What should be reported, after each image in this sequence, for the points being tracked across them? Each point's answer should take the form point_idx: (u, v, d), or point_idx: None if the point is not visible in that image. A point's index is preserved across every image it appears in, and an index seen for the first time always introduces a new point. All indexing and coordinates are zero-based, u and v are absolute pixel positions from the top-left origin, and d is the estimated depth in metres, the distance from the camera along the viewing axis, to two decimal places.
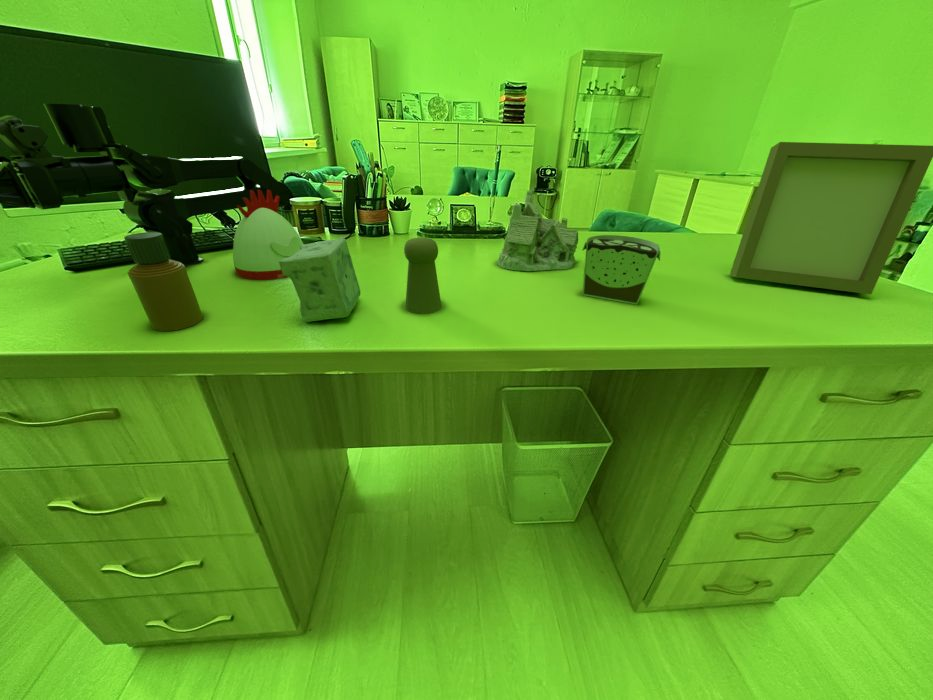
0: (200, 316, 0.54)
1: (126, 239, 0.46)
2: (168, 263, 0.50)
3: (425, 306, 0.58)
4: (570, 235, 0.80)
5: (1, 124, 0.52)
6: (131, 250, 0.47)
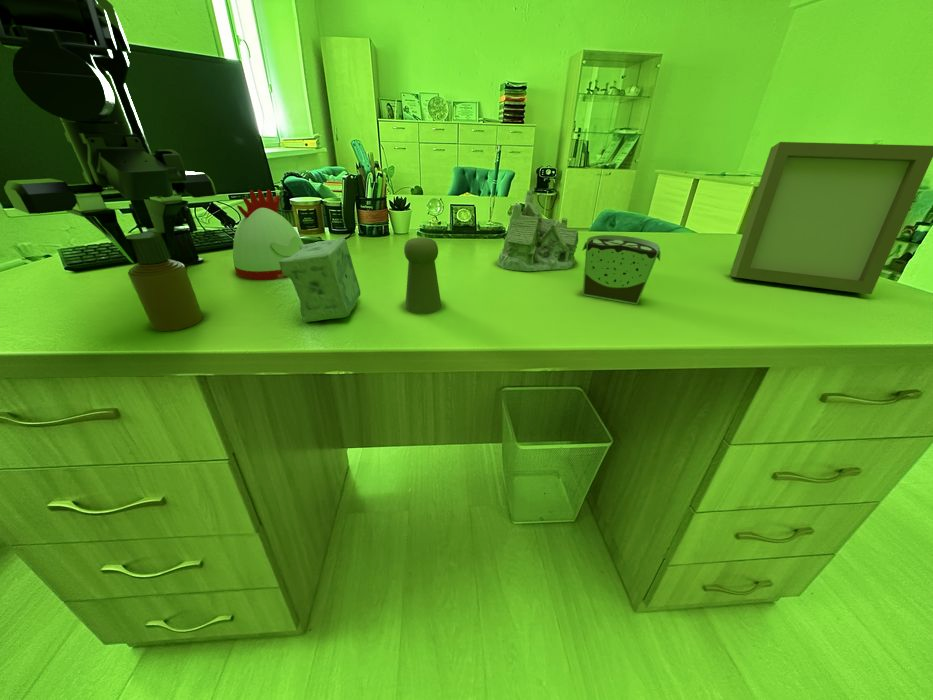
0: (200, 316, 0.54)
1: None
2: (168, 263, 0.50)
3: (425, 306, 0.58)
4: (570, 235, 0.80)
5: (171, 186, 0.43)
6: None
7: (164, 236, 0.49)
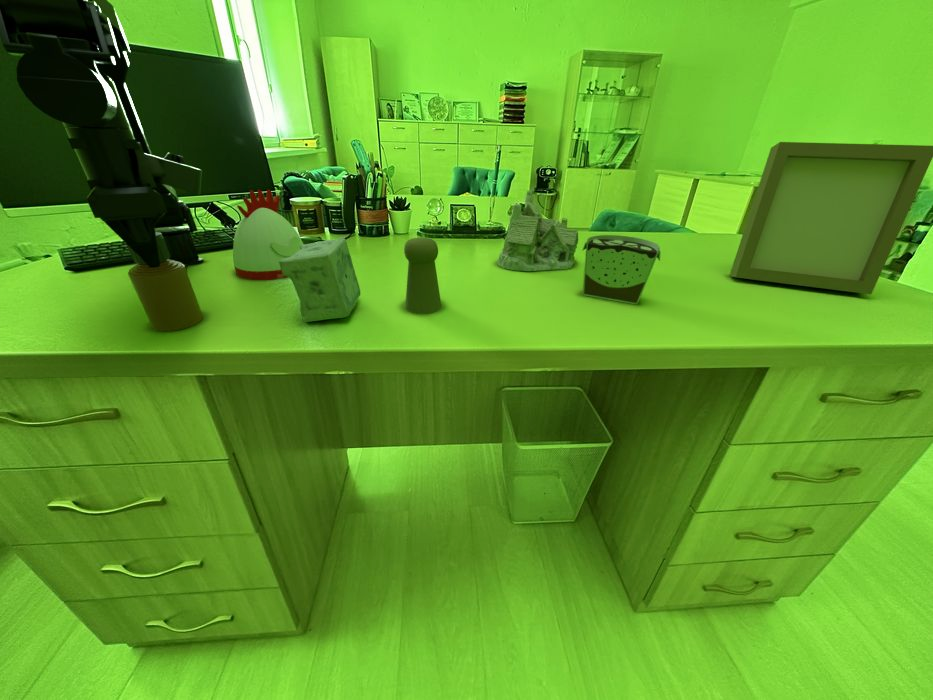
0: (200, 316, 0.54)
1: None
2: (168, 263, 0.50)
3: (425, 306, 0.58)
4: (570, 235, 0.80)
5: None
6: None
7: None
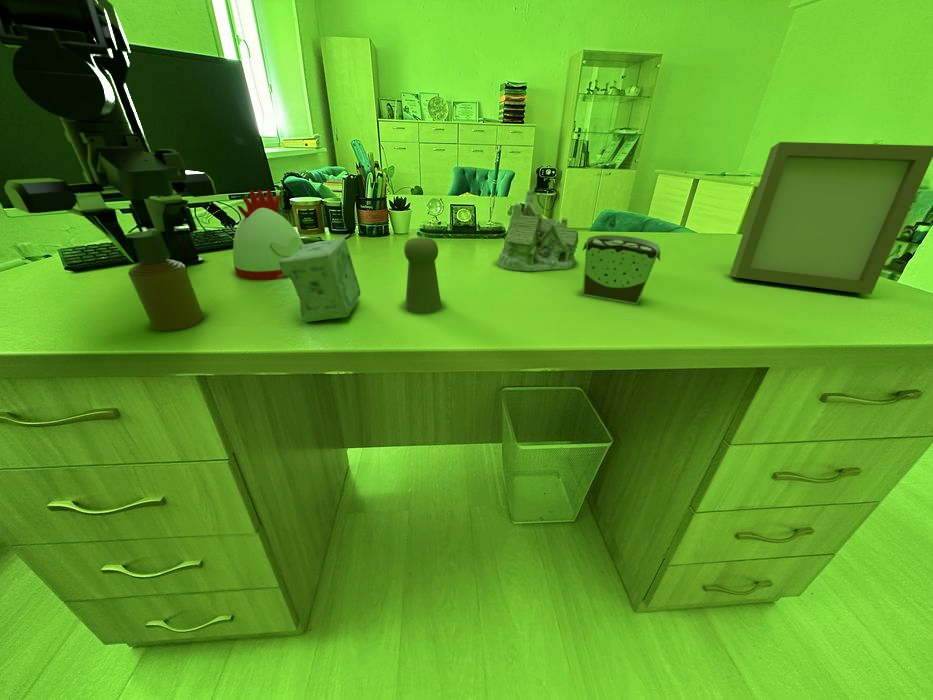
0: (200, 316, 0.54)
1: (161, 233, 0.49)
2: (168, 263, 0.50)
3: (425, 306, 0.58)
4: (570, 235, 0.80)
5: (171, 186, 0.43)
6: (165, 244, 0.49)
7: (164, 236, 0.49)
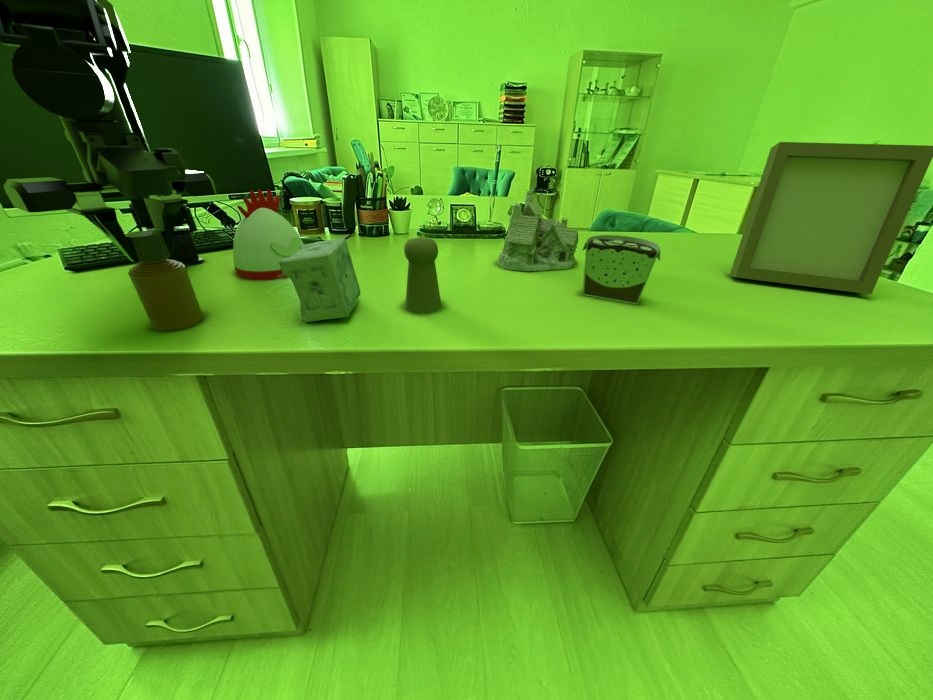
0: (200, 316, 0.54)
1: None
2: (168, 263, 0.50)
3: (425, 306, 0.58)
4: (570, 235, 0.80)
5: (171, 185, 0.43)
6: None
7: (164, 235, 0.49)
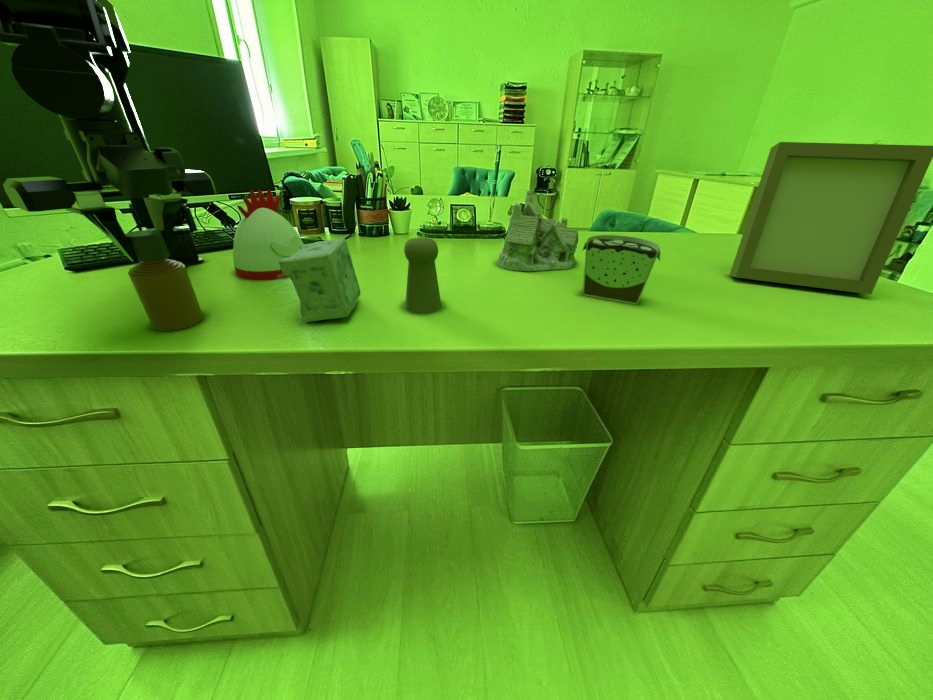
0: (200, 316, 0.54)
1: None
2: (168, 263, 0.50)
3: (425, 306, 0.58)
4: (570, 235, 0.80)
5: (171, 184, 0.43)
6: None
7: (164, 234, 0.49)
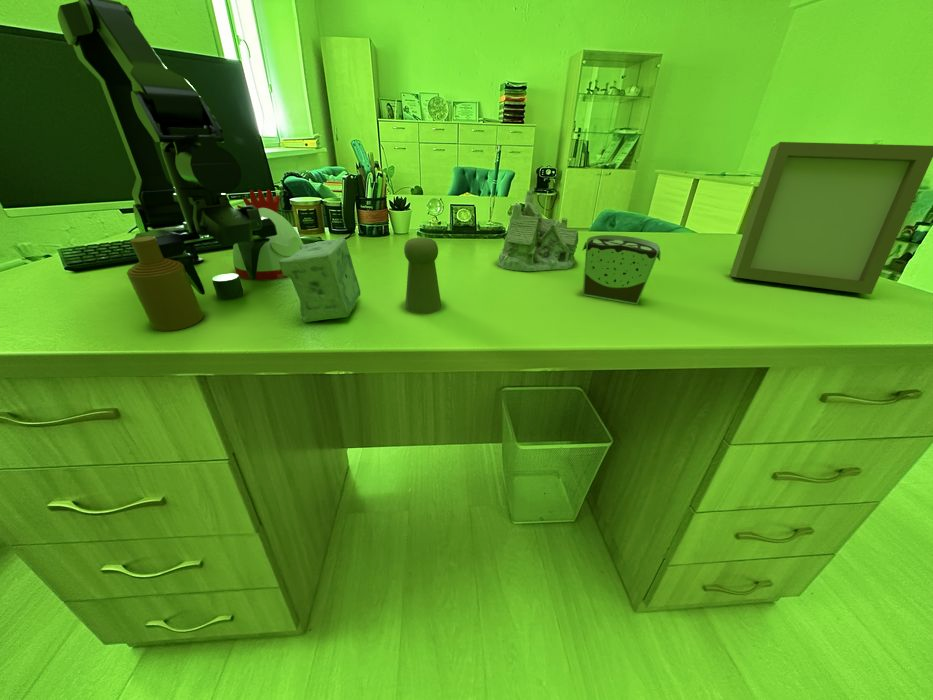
0: (200, 315, 0.54)
1: (214, 281, 0.60)
2: (167, 263, 0.50)
3: (425, 306, 0.58)
4: (570, 235, 0.80)
5: (252, 233, 0.56)
6: (217, 289, 0.61)
7: (251, 265, 0.64)
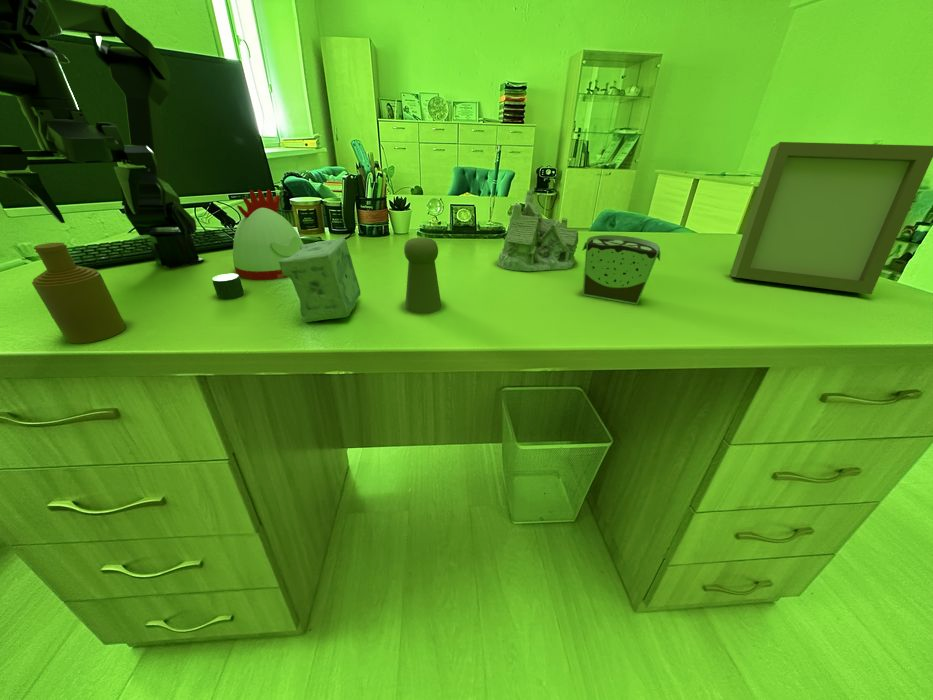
0: (121, 327, 0.51)
1: (214, 281, 0.60)
2: (78, 271, 0.46)
3: (425, 306, 0.58)
4: (570, 235, 0.80)
5: (110, 153, 0.52)
6: (217, 289, 0.61)
7: (130, 197, 0.60)
